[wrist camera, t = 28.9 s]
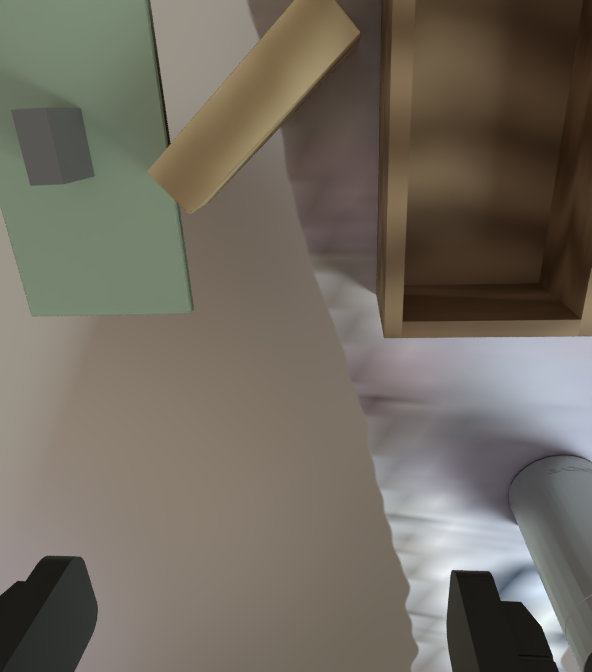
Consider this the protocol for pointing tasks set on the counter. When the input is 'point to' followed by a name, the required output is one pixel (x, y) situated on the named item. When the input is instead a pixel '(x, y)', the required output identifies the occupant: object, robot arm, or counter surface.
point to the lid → (87, 160)
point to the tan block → (255, 100)
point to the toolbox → (485, 168)
